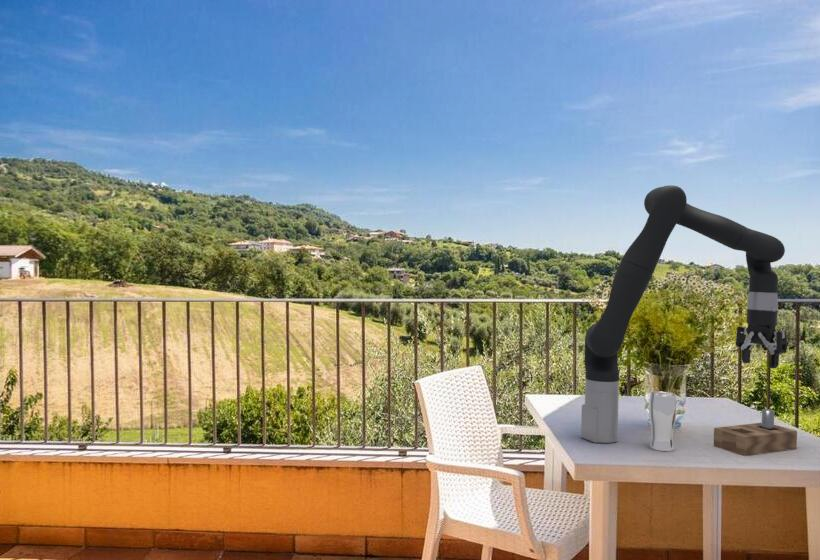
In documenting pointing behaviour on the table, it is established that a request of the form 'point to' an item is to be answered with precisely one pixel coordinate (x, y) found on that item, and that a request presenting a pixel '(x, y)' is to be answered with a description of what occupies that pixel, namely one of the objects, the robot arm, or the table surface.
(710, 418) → the table surface
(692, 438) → the table surface
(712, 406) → the table surface
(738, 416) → the table surface
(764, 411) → the peg
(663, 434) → the beer glass
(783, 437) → the hole block
